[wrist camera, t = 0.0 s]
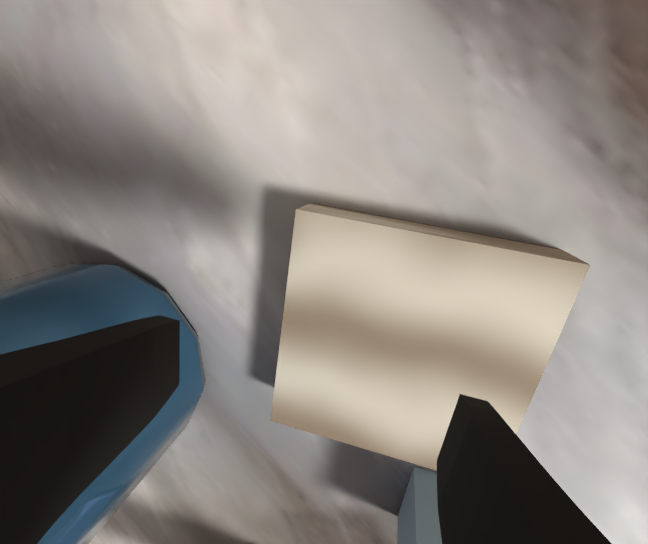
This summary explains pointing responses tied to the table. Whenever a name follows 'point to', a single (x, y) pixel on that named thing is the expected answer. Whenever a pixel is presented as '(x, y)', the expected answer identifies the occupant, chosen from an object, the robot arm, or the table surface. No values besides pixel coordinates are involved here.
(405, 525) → the block
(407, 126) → the table surface
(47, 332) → the wine bottle
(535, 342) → the plinth
